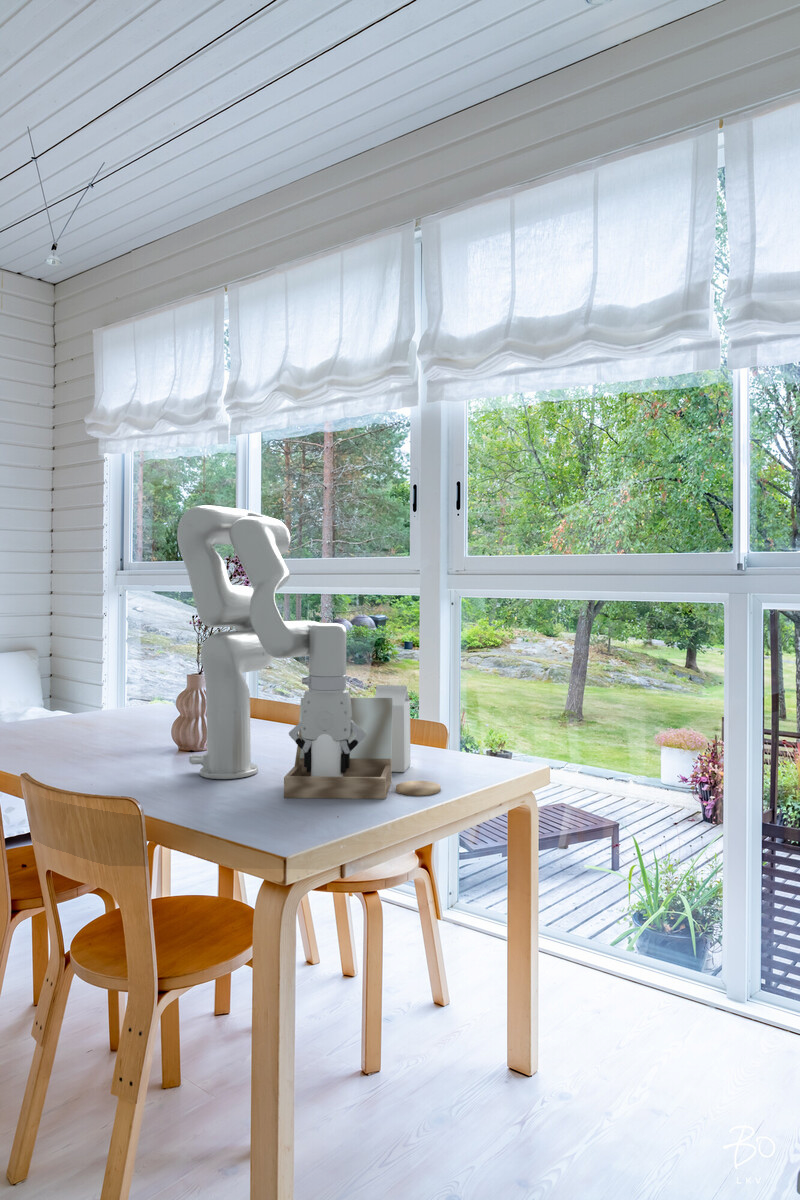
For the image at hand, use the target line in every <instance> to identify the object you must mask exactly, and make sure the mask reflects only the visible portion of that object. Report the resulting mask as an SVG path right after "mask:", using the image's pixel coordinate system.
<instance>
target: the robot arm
mask: <svg viewBox="0 0 800 1200" xmlns="http://www.w3.org/2000/svg"><path fill="white" fill-rule="evenodd" d="M176 538H177V539H176V540H177V545H178V546H177V547H178V549H179V552H180V556H181V558H182V560H183V563H184V565H185V568H186V572H187V574H188V578H189V584H190V587H191V592H192V595H193V599H194V604H195V609H196V612H197V614H198V618H199V621H200V622H201V623H202V624H203V625H205V626H207V628H208V627H209V628H231V627H234V629H235V630H230V631H229V630H228V631H221V632H220V631H219V632H216V633H214V634H211V635H209V636H208V637H206V639H205V640H204V642H203V643H202V645H201V649H200V660H201V665H202V669H203V676H204V683H205V697H206V699H205V702H206V706H205V707H206V753H203V754H190V755H189V758H188V761H189V764H191V765H192V766H193V765H195V766H196V765H201V766H202V767H201V768H200V770H199V774H200V776H201V777H203V778H205V779H212V780H233V779H235V780H236V779H240V778H247V777H250V776H253V775H255V774H257V773H258V771H259V770H258V769H259V767H258V765H257V764H254V763H253V762H252V761H251V760H252V759H251V757H252V756H251V755H252V754H251V753H252V752H251V748H252V746H251V698H250V695H251V694H250V689H249V686H248V683H247V681H246V679H245V677H244V675H243V673H249V672H257V671H261V670H264V669H266V668H268V666H269V665H270V664H271V663H272V661H273V658H275V659H279V660H280V659H281V660H282V659H292V658H302V657H308V658H309V660H308V661H309V662H308V667H309V669H308V670H309V671H308V673H309V675H308V676H305V677H302V679H301V684H302V685H306V686H307V688H308V689H306V690H305V691H304V694H303V698H304V699H303V706H302V718H301V722H300V723H299V722H298V723H297V724H296V725H295V726H294V727H293V728H292V729H291V730H290V731H289V732H288V735H289V737H290V738H291V739H292V740H293V741H294V742H295V744H296V745H298V746H299V747H300V748H301V749H302V751H303V752H304V767H307V772H311V743H312V741H315V740H317V738H318V737H319V736H320V735H322V734H328V735H329V736H331V737H332V739H333V740H334V741H340V744H341V746H342V748H343V753H342V754H341V773H345V772H346V771H347V768H349V767H350V751H351V750H352V749H353V748H355V747H356V746H357V744H358V743H359V742H360V741H361V740H362V739H363V738H364V737H365V736H366V734H365V732H364V731H363V730H362V729H361V728H360V727H359V726H358V725H356V724H355V723H354V722H353V721H352V707H351V698H352V697H351V693H350V690H349V689H347V627H346V626H345V625H344V624H342V623H337V622H318V621H314V620H308V619H307V620H306V619H304V620H288V621H285V620H284V619H283V617H282V616H281V613H280V611H279V609H278V607H277V604H276V598H275V595H276V591H278V590H280V588H282V587H283V586H285V585H286V583H287V582H288V581H289V579H290V576H291V575H290V571H289V569H288V566H287V564H286V563H285V561H284V559H283V557H282V555H284V554H285V553H286V552H287V551H288V550H289V547H290V545H291V534H290V530H289V529H288V527H287V526H286V525H285V523H284V522H283V521H281V520H279V519H277V518H274V517H271V516H267V515H263V514H260V513H257V512H254V511H251V510H248V509H242V508H235V507H225V506H219V505H218V506H217V505H196V506H193V507H190V508H188V509H187V510H186V511H185V512H184V513H183V514H182V515H181V518H180V520H179V523H178V525H177V531H176ZM214 544H215V545H216V544H217V545H231V546H232V548H233V549H234V552H235V553H236V556H237V559H238V560H239V562H240V564H241V566H242V568H243V571H244V573H245V574H246V577H247V578H248V581H249V583H250V586H251V587H250V586H247V585H233V584H232V582H231V581H230V577H229V574H228V570H227V565H226V563H225V561H224V560H223V557H222V556H221V555H220V554H219V552H218V551H217V550H216V548H214V546H213V545H214ZM300 730H301V737H302V738H303V739H305V740H306V742H305V741H304V740H303V739H302V738H301V737H300V736H299V731H300ZM323 730H326V731H323ZM352 731H353V732H354V733H355V734H356V735H357V737H356V738H355V739H354V740H353V741H352V742H351V743H349V740H348V739H349V738H350V736H351V735H352Z"/></svg>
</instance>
